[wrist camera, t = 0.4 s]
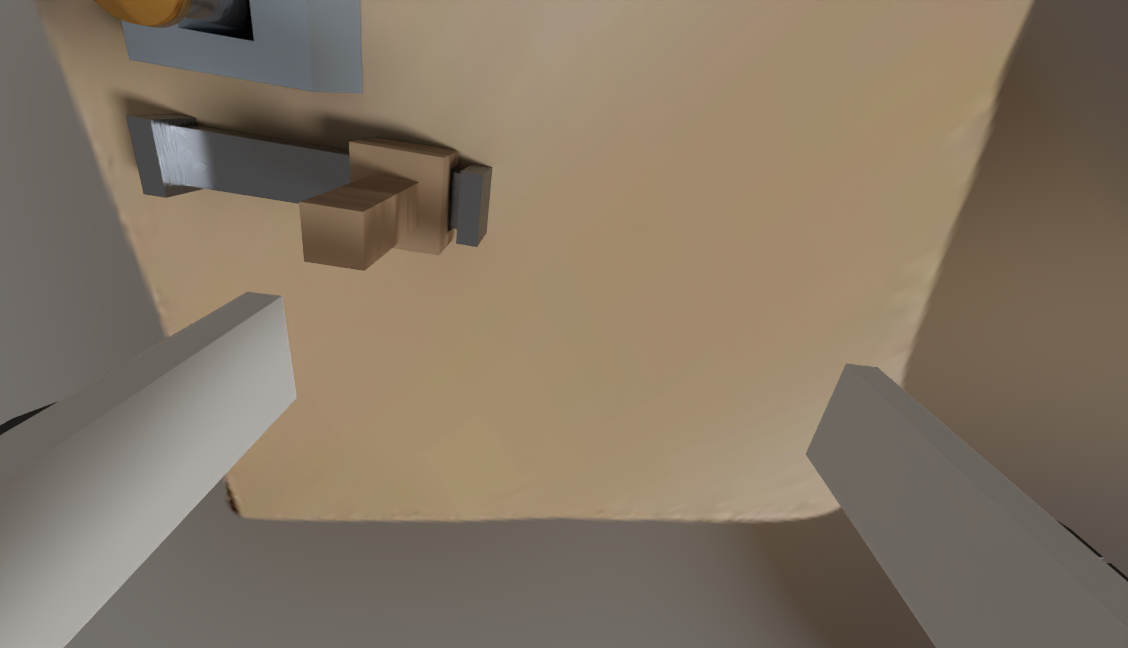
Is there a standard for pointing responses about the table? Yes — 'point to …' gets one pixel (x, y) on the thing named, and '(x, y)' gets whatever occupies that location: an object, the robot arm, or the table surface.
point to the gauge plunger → (181, 12)
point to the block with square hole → (265, 45)
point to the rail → (272, 168)
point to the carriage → (381, 205)
